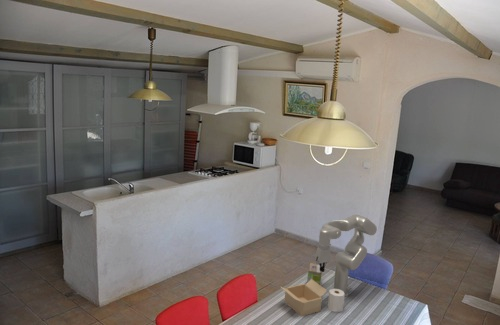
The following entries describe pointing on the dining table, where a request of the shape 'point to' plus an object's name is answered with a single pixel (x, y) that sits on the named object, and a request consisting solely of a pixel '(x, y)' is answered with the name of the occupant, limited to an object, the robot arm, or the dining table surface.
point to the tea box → (314, 273)
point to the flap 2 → (316, 287)
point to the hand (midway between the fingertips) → (321, 271)
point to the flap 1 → (290, 294)
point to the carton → (303, 300)
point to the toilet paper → (336, 300)
